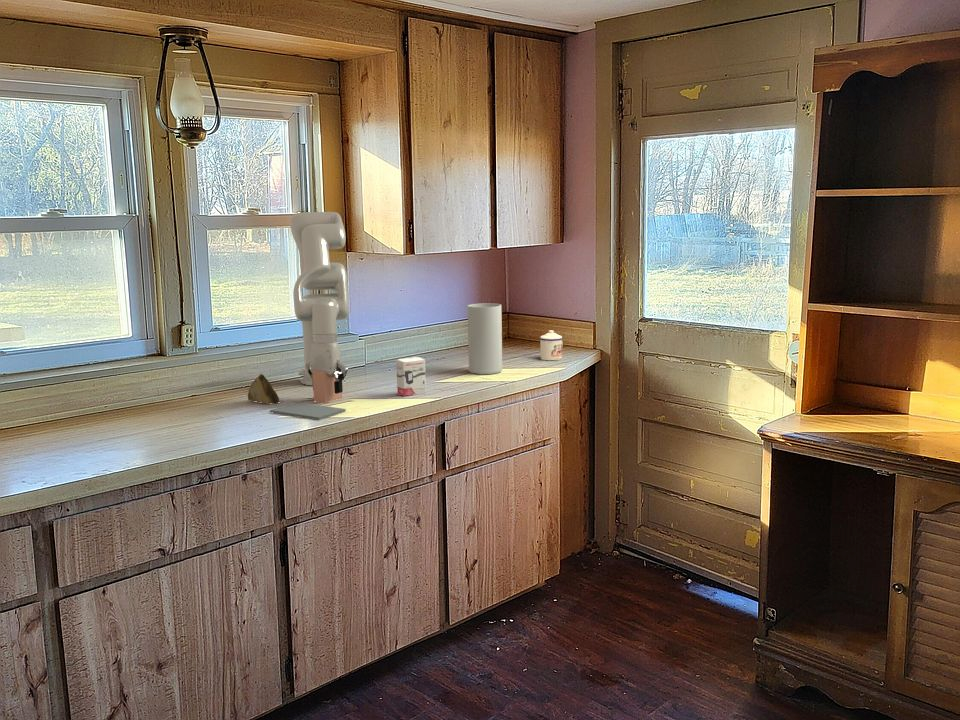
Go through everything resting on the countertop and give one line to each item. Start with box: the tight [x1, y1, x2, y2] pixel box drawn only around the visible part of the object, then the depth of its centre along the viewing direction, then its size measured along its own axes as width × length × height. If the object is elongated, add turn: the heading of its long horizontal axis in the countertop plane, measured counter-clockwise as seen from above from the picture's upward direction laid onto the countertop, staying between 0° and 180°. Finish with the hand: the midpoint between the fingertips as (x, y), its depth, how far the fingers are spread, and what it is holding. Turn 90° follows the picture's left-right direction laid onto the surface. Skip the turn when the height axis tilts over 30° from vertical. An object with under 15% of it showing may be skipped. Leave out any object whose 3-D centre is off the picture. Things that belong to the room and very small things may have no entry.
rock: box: [247, 373, 281, 405], centre depth 280 cm, size 11×9×10 cm
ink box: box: [395, 356, 427, 397], centre depth 287 cm, size 8×5×12 cm, turn 123°
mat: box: [269, 401, 347, 421], centre depth 265 cm, size 20×12×1 cm, turn 58°
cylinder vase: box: [467, 302, 503, 375], centre depth 322 cm, size 12×12×25 cm
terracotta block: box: [312, 371, 343, 404], centre depth 281 cm, size 5×8×10 cm, turn 148°
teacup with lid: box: [539, 329, 564, 361], centre depth 348 cm, size 12×9×12 cm
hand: (327, 391), depth 281 cm, fingers open, 8 cm apart
